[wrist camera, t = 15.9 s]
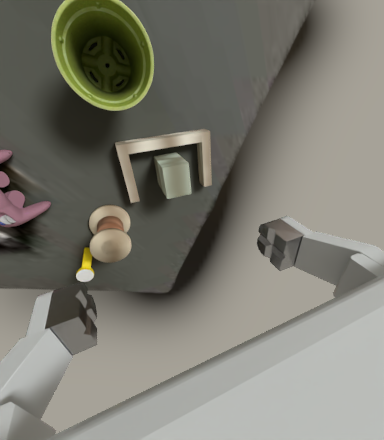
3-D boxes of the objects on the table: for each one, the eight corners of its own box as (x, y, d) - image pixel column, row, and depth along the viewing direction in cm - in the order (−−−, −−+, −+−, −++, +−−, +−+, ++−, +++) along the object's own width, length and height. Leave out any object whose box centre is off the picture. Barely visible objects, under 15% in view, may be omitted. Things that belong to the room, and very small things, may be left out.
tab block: (158, 183, 38) (167, 199, 33) (153, 156, 36) (162, 168, 30) (179, 179, 39) (191, 193, 34) (175, 152, 37) (188, 163, 31)
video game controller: (-14, 151, 29) (-68, 173, 24) (11, 145, 28) (-40, 166, 23) (34, 209, 35) (-1, 237, 29) (56, 205, 34) (24, 234, 28)
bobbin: (96, 241, 40) (94, 270, 33) (83, 209, 36) (78, 235, 30) (133, 232, 42) (138, 257, 35) (124, 200, 38) (128, 223, 31)
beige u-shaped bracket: (129, 197, 38) (130, 202, 36) (114, 142, 33) (115, 145, 31) (206, 180, 41) (211, 185, 39) (204, 128, 36) (209, 131, 34)
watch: (93, 267, 42) (91, 289, 38) (77, 266, 41) (73, 289, 36) (97, 242, 40) (96, 263, 35) (81, 241, 39) (77, 262, 34)
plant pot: (109, 121, 31) (110, 129, 24) (47, 54, 25) (25, 39, 18) (156, 76, 30) (171, 72, 23) (103, -2, 25) (102, -40, 18)
